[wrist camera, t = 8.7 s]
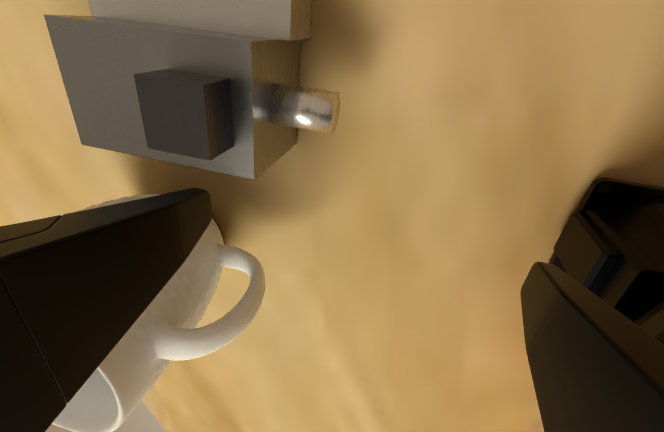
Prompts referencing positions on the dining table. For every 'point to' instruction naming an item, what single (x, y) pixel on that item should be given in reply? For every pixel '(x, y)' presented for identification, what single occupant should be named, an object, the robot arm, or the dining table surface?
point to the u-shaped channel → (191, 80)
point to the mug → (165, 333)
